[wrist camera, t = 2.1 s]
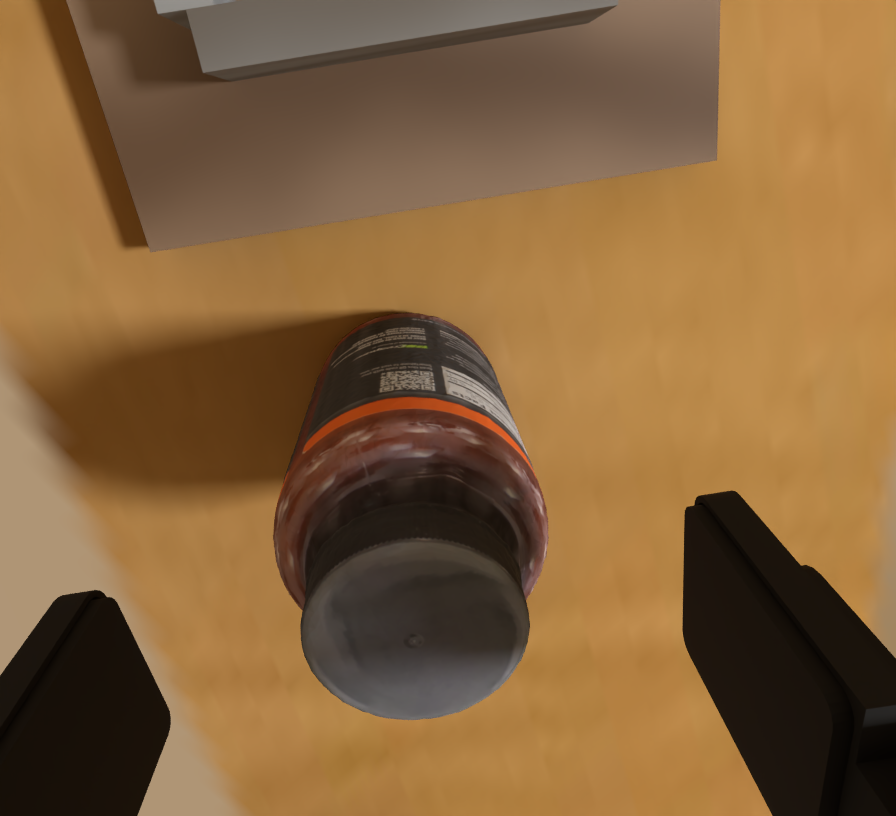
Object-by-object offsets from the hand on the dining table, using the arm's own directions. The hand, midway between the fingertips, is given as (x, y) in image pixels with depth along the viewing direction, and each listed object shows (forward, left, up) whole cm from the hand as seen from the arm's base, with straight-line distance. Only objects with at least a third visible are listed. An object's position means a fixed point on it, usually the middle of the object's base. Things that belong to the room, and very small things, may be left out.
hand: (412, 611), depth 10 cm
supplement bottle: (-1, 0, -12) cm, 12 cm away
